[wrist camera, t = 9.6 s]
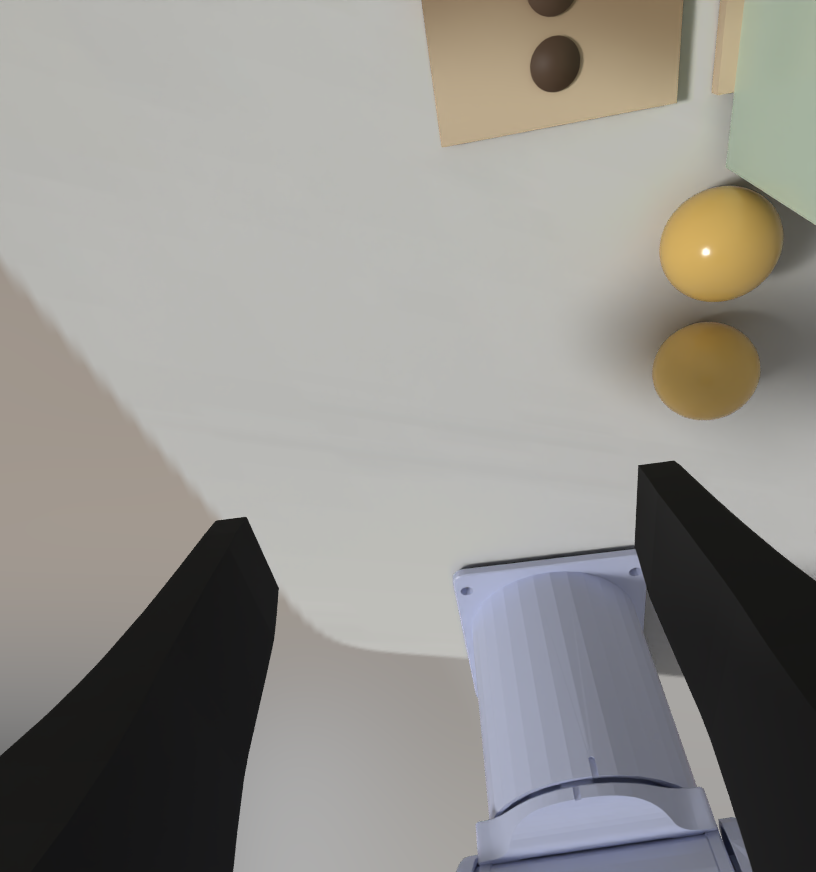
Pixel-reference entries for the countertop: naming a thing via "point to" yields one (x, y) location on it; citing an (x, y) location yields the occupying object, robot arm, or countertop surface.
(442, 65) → the pad three
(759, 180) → the pale green block
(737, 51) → the pad two
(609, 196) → the countertop surface
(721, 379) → the marble
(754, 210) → the marble
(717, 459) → the countertop surface
